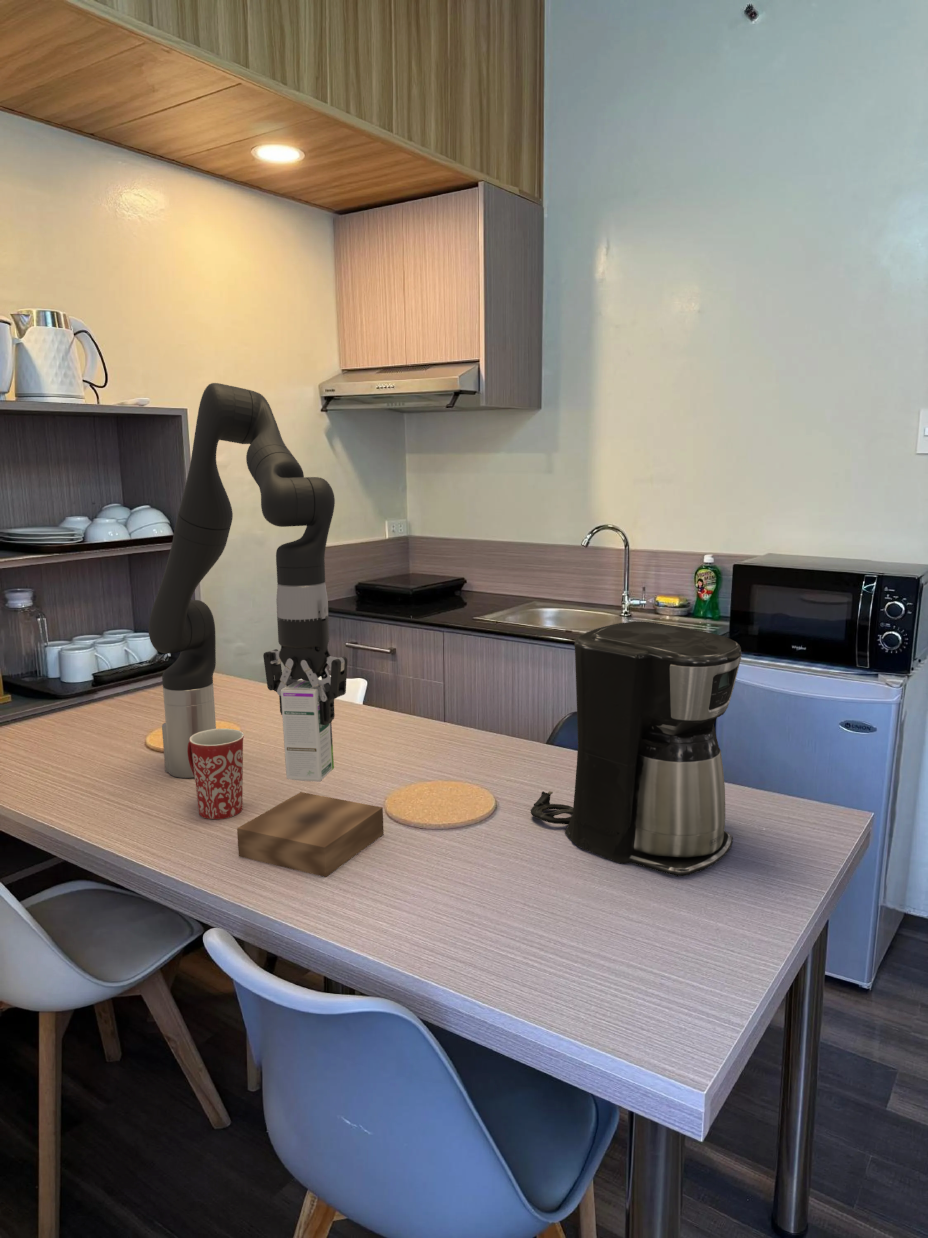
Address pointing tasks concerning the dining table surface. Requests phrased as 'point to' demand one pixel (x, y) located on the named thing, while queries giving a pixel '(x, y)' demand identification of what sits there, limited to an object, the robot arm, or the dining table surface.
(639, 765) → the coffee maker
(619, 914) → the dining table surface
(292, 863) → the walnut riser
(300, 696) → the syrup box
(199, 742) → the mug
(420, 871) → the dining table surface
